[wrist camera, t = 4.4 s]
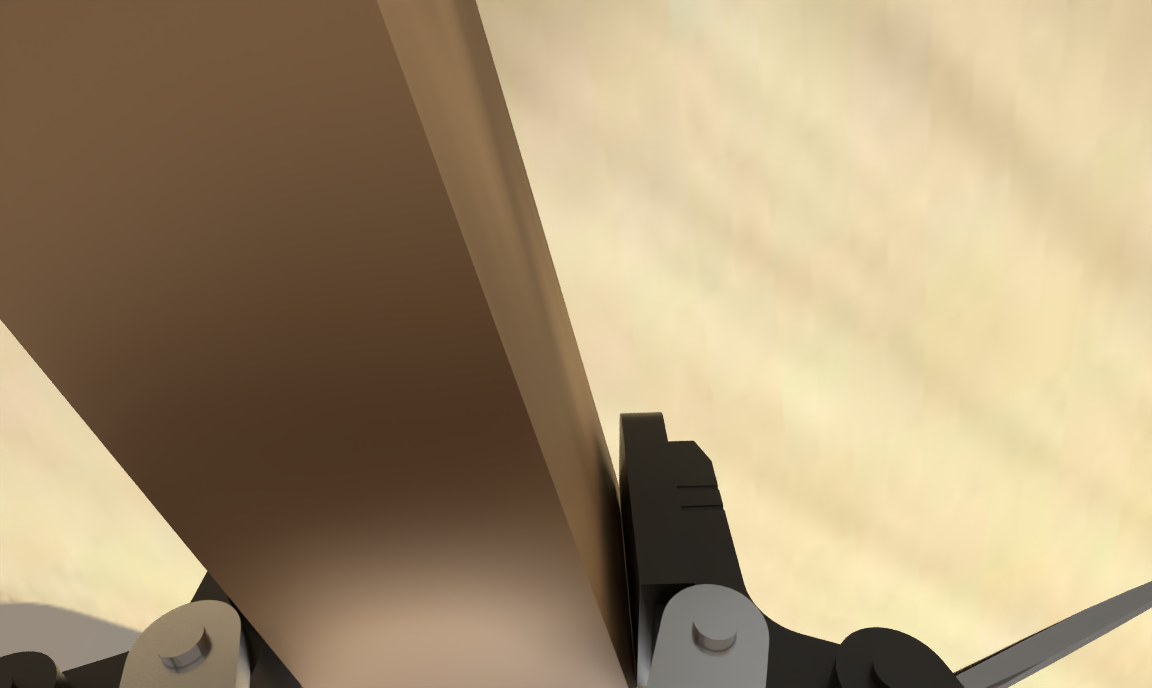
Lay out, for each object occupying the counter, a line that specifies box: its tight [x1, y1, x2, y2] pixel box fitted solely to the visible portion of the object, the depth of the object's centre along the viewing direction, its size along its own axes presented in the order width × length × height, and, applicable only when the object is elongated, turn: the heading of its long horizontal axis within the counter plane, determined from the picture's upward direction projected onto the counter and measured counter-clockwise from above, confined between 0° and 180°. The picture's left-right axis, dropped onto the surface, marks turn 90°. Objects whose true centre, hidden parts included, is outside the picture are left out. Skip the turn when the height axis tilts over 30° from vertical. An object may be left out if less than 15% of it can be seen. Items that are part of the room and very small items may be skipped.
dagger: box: [956, 581, 1152, 688], centre depth 46 cm, size 12×41×2 cm, turn 130°
